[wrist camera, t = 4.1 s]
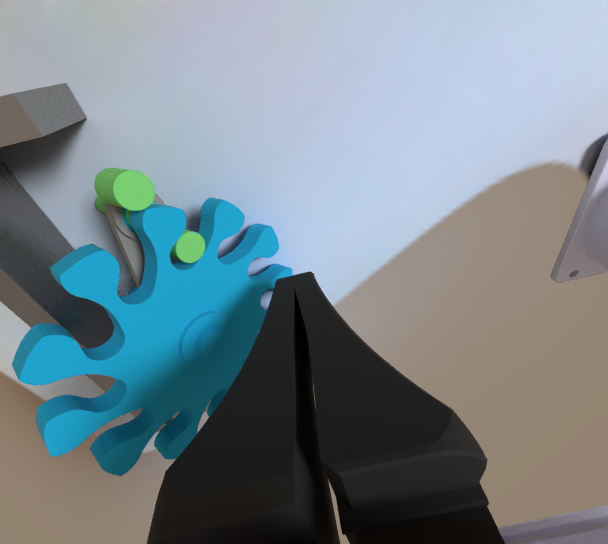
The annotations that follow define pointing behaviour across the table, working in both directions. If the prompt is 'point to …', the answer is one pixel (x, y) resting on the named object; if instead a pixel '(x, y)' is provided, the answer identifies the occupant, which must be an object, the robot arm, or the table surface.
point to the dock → (42, 231)
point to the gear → (152, 323)
